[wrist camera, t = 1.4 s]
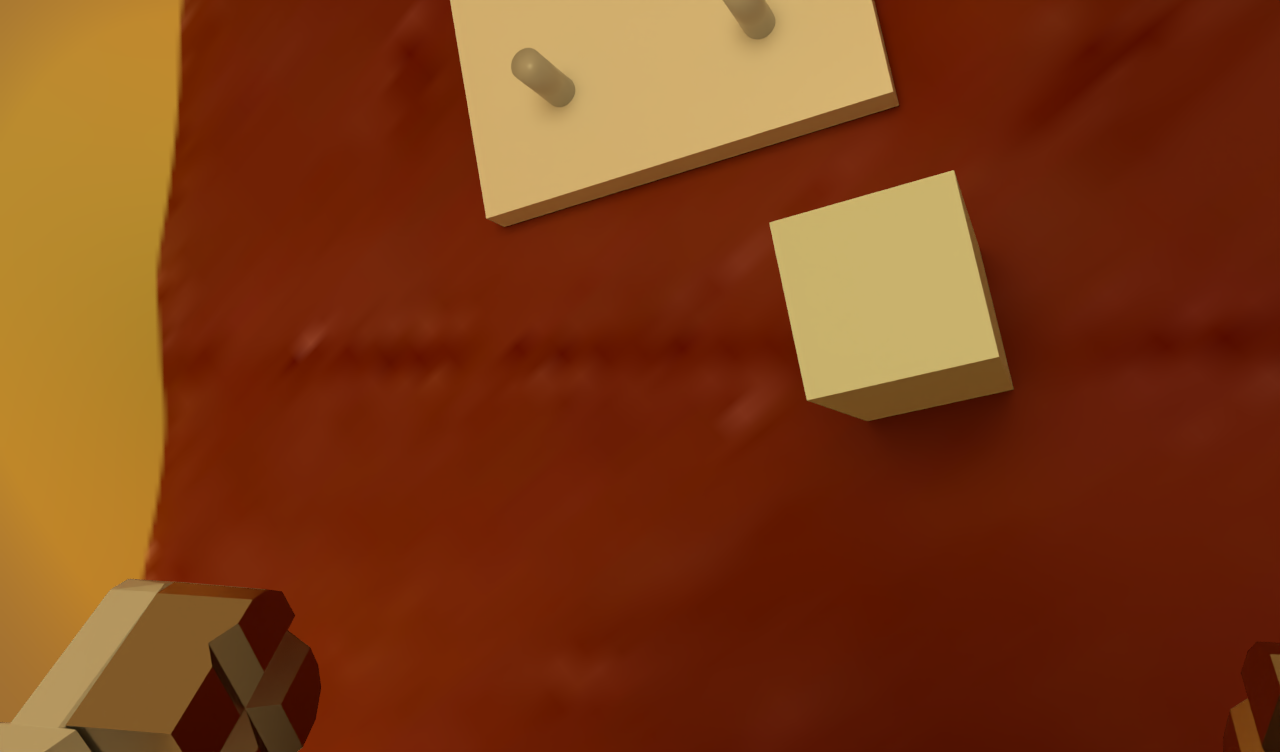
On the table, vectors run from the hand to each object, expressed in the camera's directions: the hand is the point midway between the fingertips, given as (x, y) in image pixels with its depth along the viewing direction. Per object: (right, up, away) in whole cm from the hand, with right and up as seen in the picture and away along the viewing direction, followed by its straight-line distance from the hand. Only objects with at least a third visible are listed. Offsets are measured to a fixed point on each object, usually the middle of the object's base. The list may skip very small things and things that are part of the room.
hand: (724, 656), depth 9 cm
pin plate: (0, +18, +34) cm, 38 cm away
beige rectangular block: (+9, +4, +29) cm, 30 cm away
